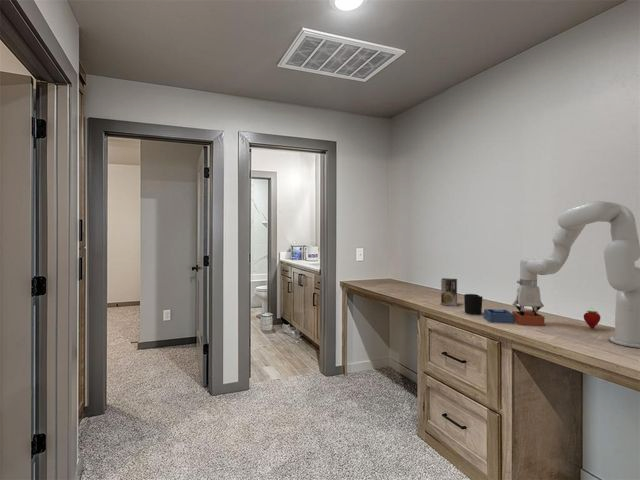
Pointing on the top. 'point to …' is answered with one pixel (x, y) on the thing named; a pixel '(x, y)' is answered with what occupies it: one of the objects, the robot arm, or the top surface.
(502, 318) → the blue bin
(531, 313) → the terracotta block
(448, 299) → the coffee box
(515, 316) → the terracotta bin
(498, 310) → the blue block
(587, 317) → the strawberry
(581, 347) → the top surface
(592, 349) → the top surface
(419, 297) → the top surface
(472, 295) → the pen holder
